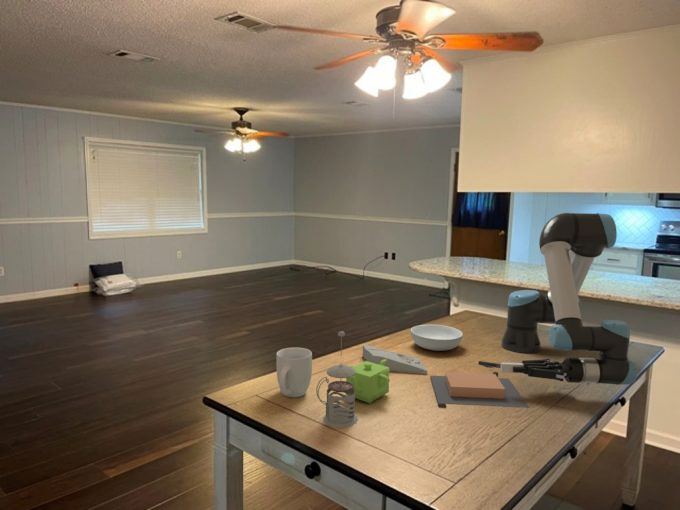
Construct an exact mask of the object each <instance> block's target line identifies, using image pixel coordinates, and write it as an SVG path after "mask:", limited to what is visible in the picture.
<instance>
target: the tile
mask: <svg viewBox="0 0 680 510" xmlns="http://www.w3.org/2000/svg"><path fill="white" fill-rule="evenodd" d="M444 373H445V375H444V376H445V382H446V385H447V388H448V390H449V393H450V396H452V397H475V398H498V399H503V398H505V388H504V387H503V385H502V384H501V382H500V381H499V379H498V378H499V377H498V375H497V376H496V375H495V374H493V373H477V372H475V373H473V372H448V371H446V372H444Z"/></svg>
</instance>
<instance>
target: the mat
mask: <svg viewBox="0 0 680 510" xmlns="http://www.w3.org/2000/svg"><path fill="white" fill-rule="evenodd" d="M429 377H430V378H429V379H430V382H431V386H432V388H433V392H434V396H435V399H436V403H437V406H438V407H439V408H440V407H441V408H447V405H459V406H460V405H462V406H464V405H465V406H479V407H480V406H482V407H484V406H485V407H486V406H487V407H504V408H506V407H507V408H509V407H511V408H528V409H529V408H530V406H529V405H528V403H527V402H526V400H525V399H524V398H523V396H522V395H521V394H520V392H519V391H518V390H517V388H516V386H515V385H514V383H513V382H512V381H511V379H510V378H502V377H501V378H500V377H497V378H498V379H499V381H500V382H501V384H502V385H503V387H504V388H505V398H503V399H498V398H475V397H452V396H450V393H449V390H448V388H447V385H446V382H445V375H430V376H429Z"/></svg>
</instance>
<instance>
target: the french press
mask: <svg viewBox="0 0 680 510" xmlns="http://www.w3.org/2000/svg"><path fill="white" fill-rule="evenodd" d="M337 336H338V337H340V355H342V352H343V351H342V348H343V347H342V346H343V344H342V341H343V337H345V336H346V333H345V331H341V330H340V331H339V332H338V333H337ZM325 371H326V375H327V376H329V377H330V378H335V379H340V380H336V381H335V380H334V381H331V382H330V381H329V378H328V377H327V376H324V377H323V378H321V379H320V380H318V383H317V385H316V396H317V399H318V400H319V402H321V403H322V404H323V405H325V415H324V416H323V418H322V422H323V423H324V424H325V425H327V426H330V427H332V428H336V429H337V428H338V429H340V428H341V429H343V428H344V429H345V428H349V427H353V426H355V425H356V424H357V423H358V422H357V421H359V419H358V416H357V415H356V414H355V405H356V402H355V400H356V399H355V390H354V389H353V388H354V385H353V384H352V383H350V382H347V381H346V380H342V379H346V378H348V377H352V376H354V375H355V373H356V371H355V370H354V369H353V368H352V367H349V365H346V364H337V365H333V366H331V367H329V368H328V369H326V370H325ZM324 382H326V383H327V387H328V388H327V389H326V401H325V400H322V399H321V398H320V396H319V395H320V394H319V393H320V388H321V387H322V385H323V383H324ZM346 394H350V396H348V395H346ZM337 395H338V396H337ZM343 406H344V407H343ZM354 424H355V425H354Z"/></svg>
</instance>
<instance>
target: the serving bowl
mask: <svg viewBox="0 0 680 510" xmlns="http://www.w3.org/2000/svg"><path fill="white" fill-rule="evenodd" d="M410 335H411V336H410V337H411V339H412V341H413V342H414V344H416V345H417V346H419V347H421V348H423V349H427V350H428V351H429V350H430V351H434V352H435V351H436V352H441V351H442V352H443V351H449V350H453V349H455V348H457V347H458V346H459V345H460V344H461V342H462V340H463V337H464V332H462V331H461V330H460V329H458V328H455V327H452V326H448V325H442V324H421V325H415V326H413V327H411V329H410Z"/></svg>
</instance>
